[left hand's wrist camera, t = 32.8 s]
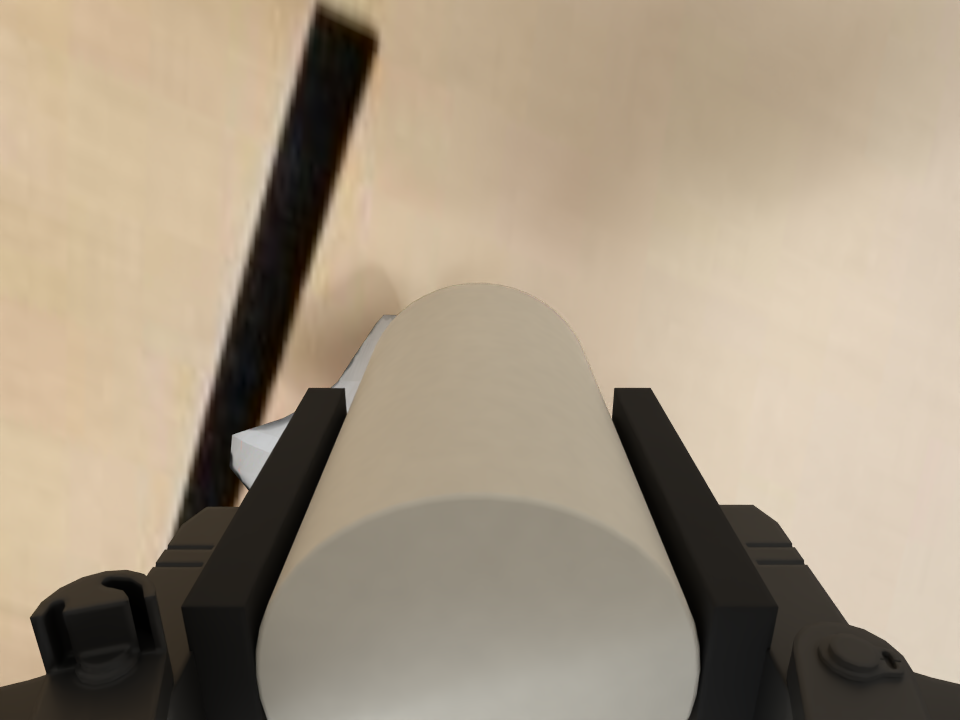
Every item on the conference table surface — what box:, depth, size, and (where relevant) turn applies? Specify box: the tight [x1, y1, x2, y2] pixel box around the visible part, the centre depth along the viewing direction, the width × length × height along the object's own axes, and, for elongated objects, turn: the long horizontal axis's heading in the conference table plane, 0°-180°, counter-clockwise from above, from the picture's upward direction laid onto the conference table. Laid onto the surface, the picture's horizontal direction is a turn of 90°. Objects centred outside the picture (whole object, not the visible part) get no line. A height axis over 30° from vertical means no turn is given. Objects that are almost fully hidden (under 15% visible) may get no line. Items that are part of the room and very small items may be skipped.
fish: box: [230, 315, 397, 490], centre depth 27 cm, size 11×16×10 cm
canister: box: [256, 283, 700, 720], centre depth 13 cm, size 6×6×9 cm
